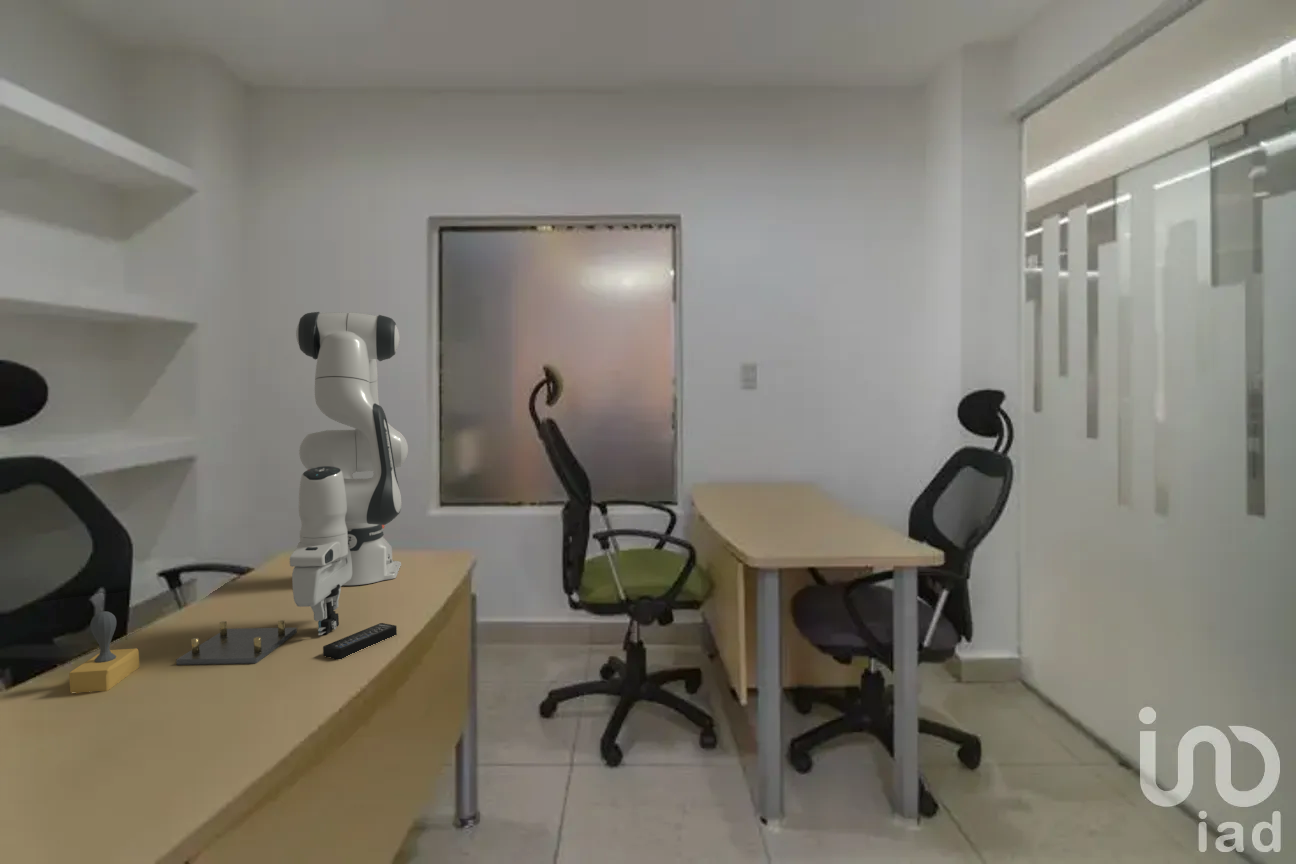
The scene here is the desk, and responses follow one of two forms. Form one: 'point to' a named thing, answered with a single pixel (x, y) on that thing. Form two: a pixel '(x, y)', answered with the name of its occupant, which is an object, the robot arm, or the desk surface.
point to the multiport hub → (359, 640)
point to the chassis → (237, 645)
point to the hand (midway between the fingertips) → (326, 614)
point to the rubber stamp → (104, 660)
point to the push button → (329, 614)
